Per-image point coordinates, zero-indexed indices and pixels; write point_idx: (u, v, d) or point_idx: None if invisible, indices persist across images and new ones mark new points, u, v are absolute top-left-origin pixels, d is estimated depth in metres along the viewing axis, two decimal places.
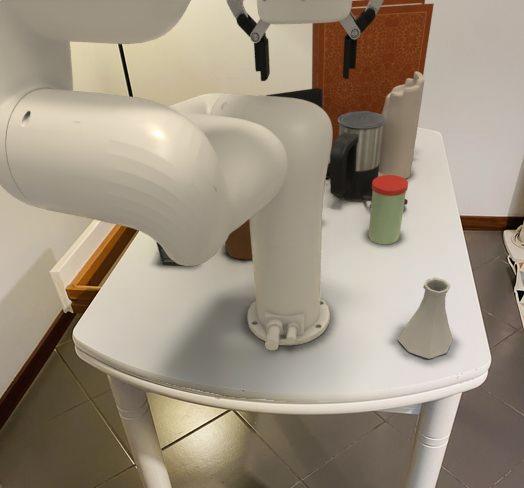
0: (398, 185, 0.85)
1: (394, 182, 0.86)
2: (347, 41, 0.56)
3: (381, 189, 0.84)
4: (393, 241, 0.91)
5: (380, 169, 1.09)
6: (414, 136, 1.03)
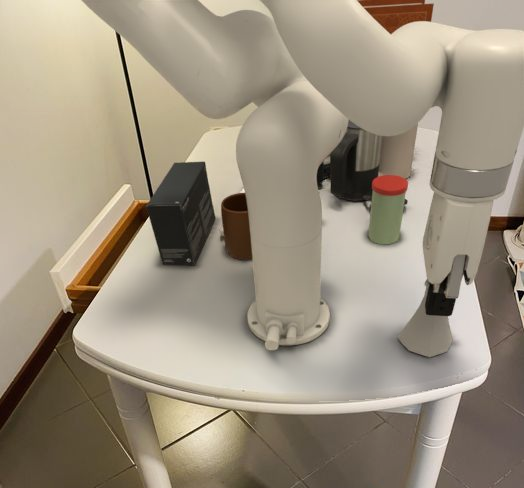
0: (398, 185, 0.85)
1: (394, 182, 0.86)
2: (430, 288, 0.61)
3: (381, 189, 0.84)
4: (393, 241, 0.91)
5: (380, 169, 1.09)
6: (414, 136, 1.03)
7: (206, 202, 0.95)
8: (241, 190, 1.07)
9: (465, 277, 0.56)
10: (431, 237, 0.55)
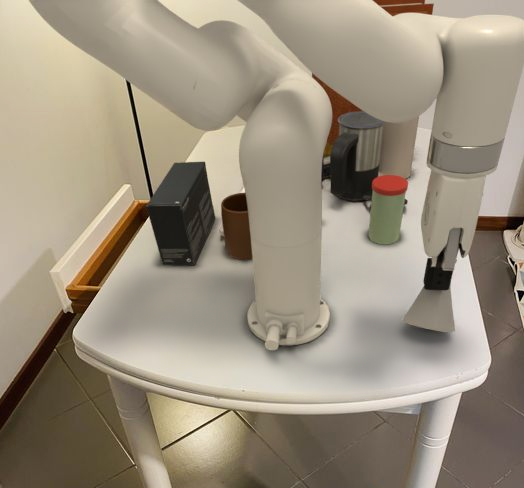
0: (398, 185, 0.85)
1: (394, 182, 0.86)
2: (428, 263, 0.65)
3: (381, 189, 0.84)
4: (393, 241, 0.91)
5: (380, 169, 1.09)
6: (414, 136, 1.03)
7: (206, 203, 0.95)
8: (241, 190, 1.07)
9: (460, 250, 0.60)
10: (428, 213, 0.59)
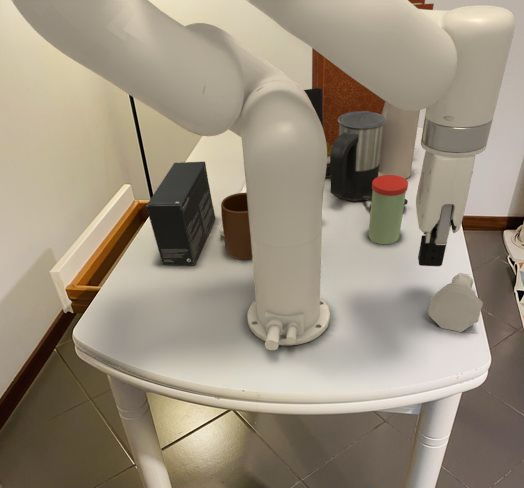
0: (398, 185, 0.85)
1: (394, 182, 0.86)
2: (422, 240, 0.69)
3: (381, 189, 0.84)
4: (393, 241, 0.91)
5: (380, 169, 1.09)
6: (414, 136, 1.03)
7: (206, 203, 0.95)
8: (241, 190, 1.07)
9: (452, 226, 0.64)
10: (422, 191, 0.63)
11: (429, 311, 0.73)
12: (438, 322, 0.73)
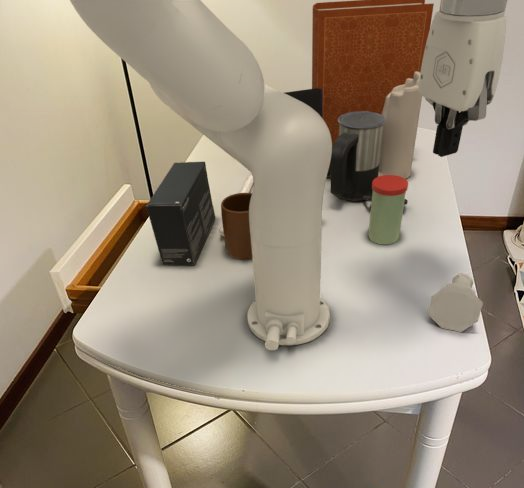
0: (398, 185, 0.85)
1: (394, 182, 0.86)
2: (442, 128, 0.69)
3: (381, 189, 0.84)
4: (393, 241, 0.91)
5: (380, 169, 1.09)
6: (414, 136, 1.03)
7: (206, 203, 0.95)
8: (241, 190, 1.07)
9: None
10: (452, 70, 0.63)
11: (429, 311, 0.73)
12: (438, 322, 0.73)
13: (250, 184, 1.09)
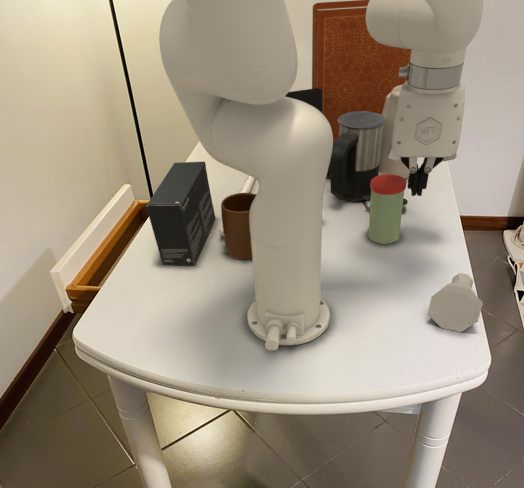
0: (396, 184, 0.85)
1: (392, 181, 0.86)
2: (422, 174, 0.83)
3: (379, 188, 0.84)
4: (393, 240, 0.91)
5: (380, 169, 1.09)
6: None
7: (206, 203, 0.95)
8: (241, 190, 1.07)
9: None
10: (439, 129, 0.76)
11: (429, 311, 0.73)
12: (438, 322, 0.73)
13: (250, 184, 1.09)
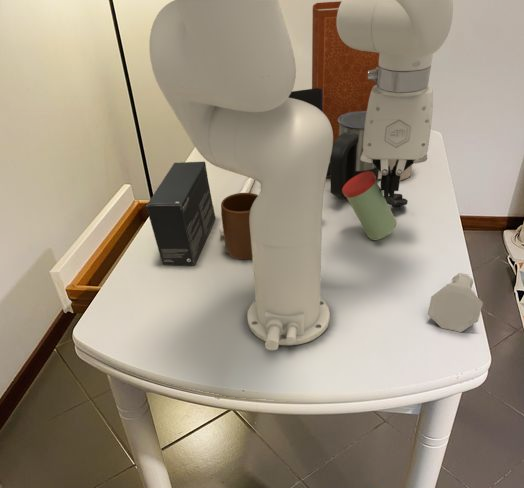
0: (364, 181, 0.85)
1: (361, 180, 0.86)
2: (394, 176, 0.83)
3: (349, 192, 0.86)
4: (390, 231, 0.90)
5: None
6: None
7: (206, 203, 0.95)
8: (241, 190, 1.07)
9: None
10: (408, 131, 0.77)
11: (429, 311, 0.73)
12: (438, 322, 0.73)
13: (250, 184, 1.09)
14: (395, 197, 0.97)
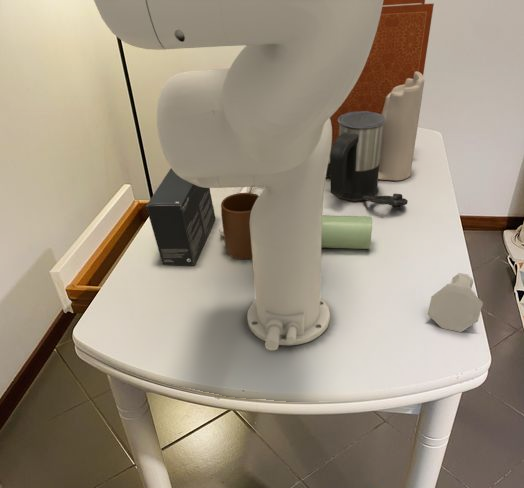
0: None
1: None
2: None
3: None
4: (367, 247, 0.89)
5: (380, 169, 1.09)
6: (414, 136, 1.03)
7: (206, 202, 0.95)
8: (241, 190, 1.07)
9: None
10: None
11: (429, 311, 0.73)
12: (438, 322, 0.73)
13: None
14: (395, 197, 0.97)
